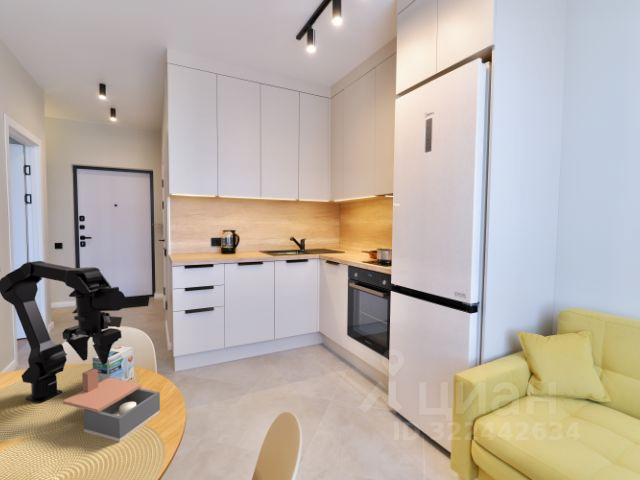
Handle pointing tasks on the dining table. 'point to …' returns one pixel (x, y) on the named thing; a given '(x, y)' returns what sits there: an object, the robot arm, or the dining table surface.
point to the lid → (100, 392)
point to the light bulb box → (116, 364)
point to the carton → (123, 415)
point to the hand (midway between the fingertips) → (94, 362)
